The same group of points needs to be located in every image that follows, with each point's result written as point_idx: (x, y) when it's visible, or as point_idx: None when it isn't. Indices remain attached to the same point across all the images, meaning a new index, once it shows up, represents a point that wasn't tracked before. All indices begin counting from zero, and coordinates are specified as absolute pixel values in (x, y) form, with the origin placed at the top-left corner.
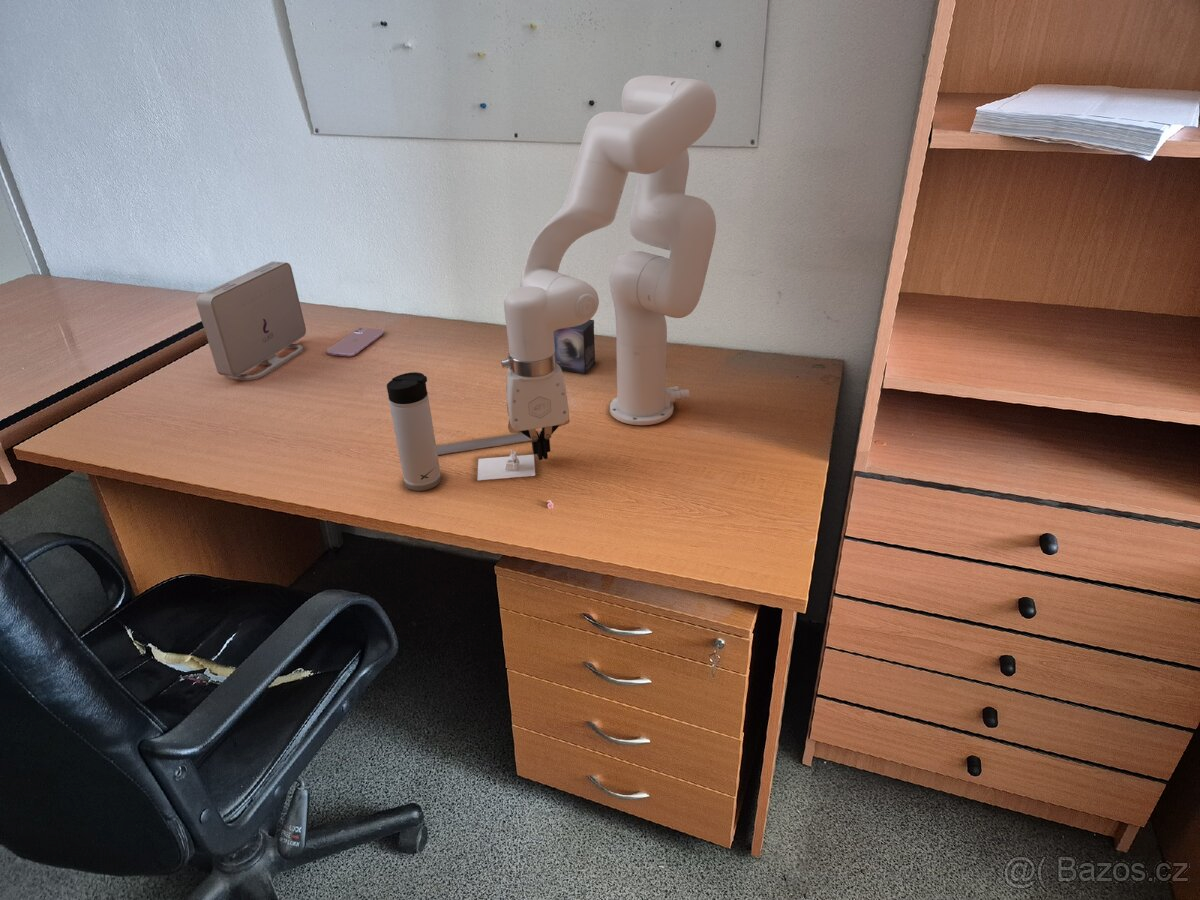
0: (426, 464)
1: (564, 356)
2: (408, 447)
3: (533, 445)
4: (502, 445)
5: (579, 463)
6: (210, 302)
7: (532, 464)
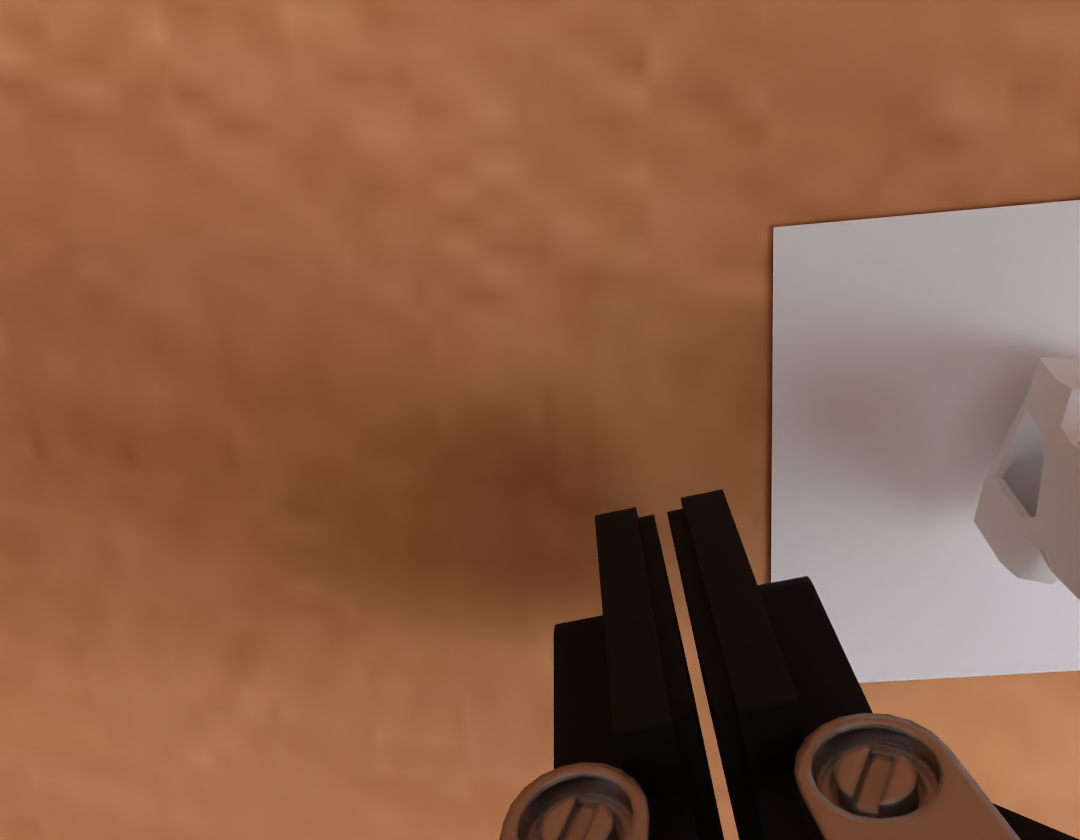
0: None
1: None
2: None
3: (849, 675)
4: None
5: (197, 481)
6: None
7: (798, 492)
